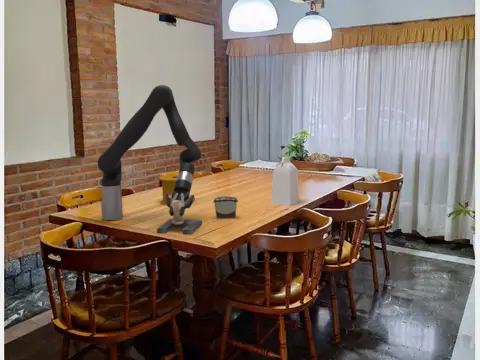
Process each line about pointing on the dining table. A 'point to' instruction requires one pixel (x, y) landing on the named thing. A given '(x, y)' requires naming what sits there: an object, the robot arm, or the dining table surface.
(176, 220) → the bobbin
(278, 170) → the milk
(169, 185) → the spool
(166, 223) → the notched board
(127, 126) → the robot arm
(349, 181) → the dining table surface
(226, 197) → the food container
